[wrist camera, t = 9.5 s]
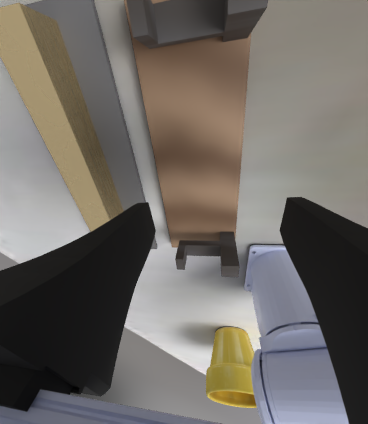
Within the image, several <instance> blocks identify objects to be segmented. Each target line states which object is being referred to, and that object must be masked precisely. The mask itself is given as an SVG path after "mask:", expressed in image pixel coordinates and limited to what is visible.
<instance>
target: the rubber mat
mask: <svg viewBox="0 0 368 424" xmlns="http://www.w3.org/2000/svg"><path fill="white" fill-rule="evenodd" d="M25 6H27V7H29V8H31V9H33V10H35V11H37V12H40V13H42V14H44V15H46V16H48V17H50V18H52V19H54V20H57V23H58V26H59V29H60V32H61V34H62V37H63V40H64V43H65V46H66V49H67V52H68V54H69V57H70V60H71V63H72V66H73V69H74V71H75V74H76V77H77V80H78V83H79V86H80V89H81V91H82V94H83V97H84V100H85V103H86V106H87V108H88V111H89V114H90V117H91V120H92V123H93V125H94V128H95V131H96V134H97V137H98V140H99V143H100V145H101V148H102V151H103V154H104V157H105V160H106V162H107V165H108V168H109V171H110V174H111V177H112V180H113V182H114V185H115V188H116V191H117V194H118V197H119V199H120V202H121V205H122V208H123V211H125V210H126V209H128V208H130V207H131V206H133V205H135V204H137V203H145V202H146V201H145V197H144V193H143V189H142V185H141V182H140V178H139V174H138V170H137V166H136V162H135V158H134V154H133V151H132V147H131V143H130V139H129V135H128V131H127V127H126V123H125V120H124V116H123V112H122V108H121V104H120V100H119V96H118V92H117V89H116V85H115V81H114V77H113V73H112V69H111V65H110V61H109V58H108V54H107V50H106V46H105V42H104V38H103V34H102V30H101V27H100V23H99V19H98V15H97V11H96V7H95V3H94V0H43V1H39V2H35V3H31V4H27V5H25ZM151 249H157V244H156V240H155V236H154V240H153V244H152V247H151Z"/></svg>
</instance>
